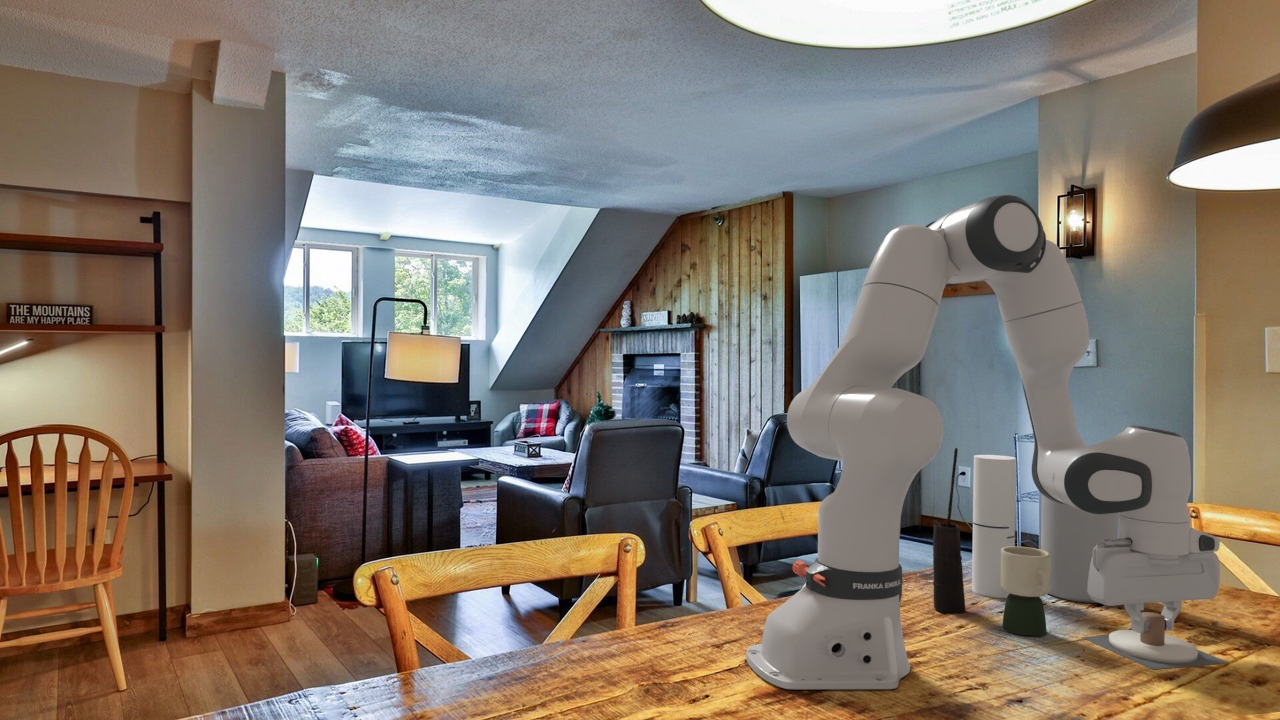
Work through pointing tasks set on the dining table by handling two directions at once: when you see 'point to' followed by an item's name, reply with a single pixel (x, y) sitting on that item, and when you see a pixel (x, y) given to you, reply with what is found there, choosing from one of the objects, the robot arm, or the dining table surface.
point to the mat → (1201, 660)
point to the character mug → (1025, 589)
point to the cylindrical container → (992, 520)
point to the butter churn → (948, 562)
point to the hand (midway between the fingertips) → (1152, 630)
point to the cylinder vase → (1073, 546)
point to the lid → (1153, 643)
